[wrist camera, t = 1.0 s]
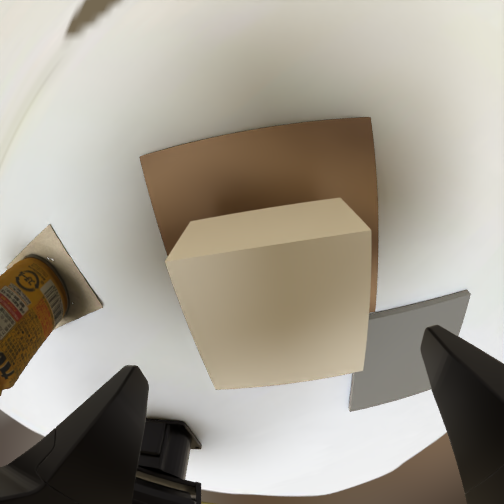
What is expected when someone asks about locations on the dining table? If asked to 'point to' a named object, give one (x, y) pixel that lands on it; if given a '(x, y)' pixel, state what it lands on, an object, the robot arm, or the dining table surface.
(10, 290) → the condiment
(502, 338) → the dining table surface
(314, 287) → the tan cardboard carton
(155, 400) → the dining table surface
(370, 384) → the pad
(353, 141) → the post base
